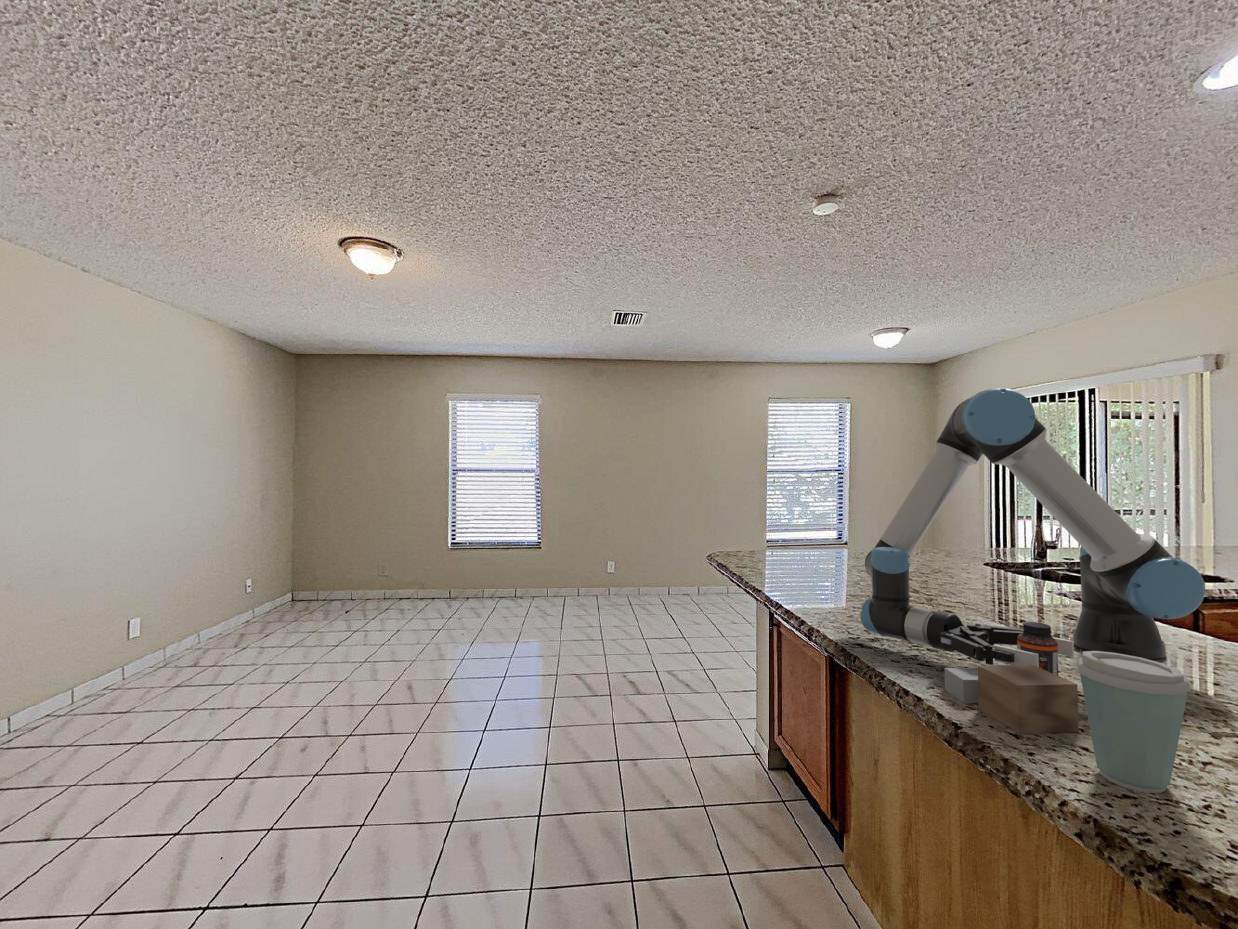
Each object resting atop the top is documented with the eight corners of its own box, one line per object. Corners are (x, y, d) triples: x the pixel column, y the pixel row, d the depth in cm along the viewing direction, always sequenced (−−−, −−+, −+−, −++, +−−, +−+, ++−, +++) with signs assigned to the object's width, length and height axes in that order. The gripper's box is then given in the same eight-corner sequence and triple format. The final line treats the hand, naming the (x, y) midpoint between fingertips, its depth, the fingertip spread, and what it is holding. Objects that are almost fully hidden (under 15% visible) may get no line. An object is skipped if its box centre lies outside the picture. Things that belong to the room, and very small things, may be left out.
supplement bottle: (1015, 688, 101) (1013, 624, 102) (1020, 679, 106) (1018, 618, 106) (1057, 697, 97) (1055, 630, 98) (1061, 687, 102) (1059, 623, 102)
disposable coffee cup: (1128, 757, 76) (1124, 644, 77) (1223, 802, 65) (1217, 671, 66) (1057, 763, 75) (1053, 648, 75) (1141, 810, 64) (1137, 676, 65)
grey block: (979, 690, 101) (979, 668, 101) (1000, 704, 95) (1000, 680, 95) (945, 690, 101) (944, 668, 101) (963, 704, 95) (963, 679, 95)
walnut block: (1032, 707, 93) (1031, 664, 93) (1079, 732, 84) (1077, 684, 84) (978, 709, 93) (977, 665, 93) (1019, 733, 84) (1017, 685, 84)
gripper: (967, 638, 124) (1087, 664, 106) (899, 658, 111) (1022, 691, 93) (966, 603, 124) (1085, 623, 106) (898, 619, 111) (1020, 645, 93)
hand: (1056, 655), depth 99 cm, fingers open, 13 cm apart
